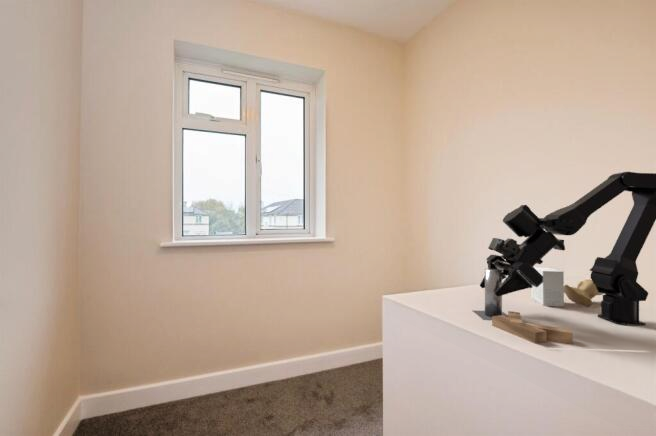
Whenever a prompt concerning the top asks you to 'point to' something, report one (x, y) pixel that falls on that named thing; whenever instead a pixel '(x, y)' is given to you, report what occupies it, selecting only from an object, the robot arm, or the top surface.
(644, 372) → the top surface
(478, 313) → the mat
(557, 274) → the small box
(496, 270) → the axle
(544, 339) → the v block
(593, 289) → the tan curved shape
